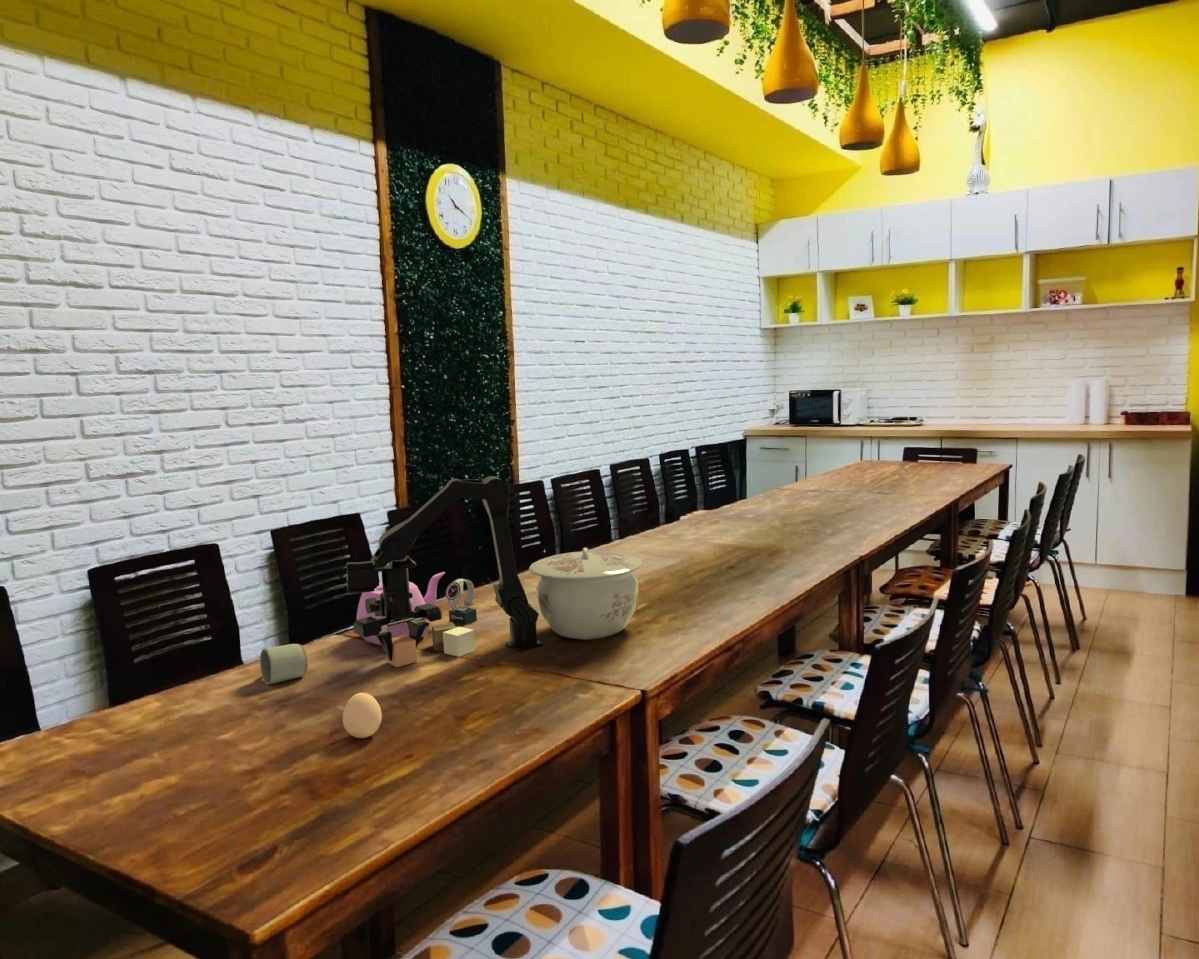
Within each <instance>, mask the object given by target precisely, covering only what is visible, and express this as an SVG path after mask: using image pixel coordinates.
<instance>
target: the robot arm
mask: <svg viewBox="0 0 1199 959" xmlns="http://www.w3.org/2000/svg"><path fill="white" fill-rule="evenodd" d="M462 498H463V499H474V500H482V503H483V506H484V508H485V510H486V512H487V515H488V517H489V522H490V528H491V533H492V539H493V545H494V552H495V557H496V561H497V562H496V564H497V568H498V574H499V579H498V584H497V583H496V584H492V587H493V590H494V593H495V599H494V601H495V603H497V605H498V606H499V607H500V608H501V609H502V610H503V611H504V613H505V614H507V615H508V616H509V635H510V636H509V637H510V641H506V642H505V646H506V647H507V646H508V647H510V648H512V649H516V650H517V651H525V650H528V649H531V648H532V649H533V648H535V647H539V646H542V645H543V644H544V643H543V641H541V640H538V635H537V634H538V633H537V630H538V629H537V622H538V619H539V613H538V611H537V610H536V609H535V608H534V607H533V606H532V605H531V604H530V603H529V601H528V597H527V595H526V592H525V589H524V587H523V585H522V582H521V580H520V578H519V576H518V575H519V574H518V568H517V563H516V557H515V551H514V547H513V540H512V539H513V538H512V534H511V529H510V523H509V509H510V487H509V485H508V483H507V482H506V481H504V480H503V479H502V478H499V477H497V476H493V475H489V476H485V478H483V479H458V478H452V479H450V480H448V482H447V483H446V484H445V485H444V487H442V488H441V489H440V490H438V492H436V493H435V494H434V496H432V497H431V498H429V500H428V501H427V502H425V504H424V505H422V506H421V507H420V508H419V509H418V510H417V511H416V512H415V513H413V514H412V515H410V517H409V518H407V519H406V520H403V521H402V522H400V523H398V524H396V525H394V526H393V527H392V528H389V529H388V530H387V531H385V532H384V533H382V534H381V535H380V537H379V539H378V548H377V549H376V550H375V552H374V554H373V555H372V557H371V558H370V560H368V561H359V562H354V561H350V562H346V575H345V576H346V586H347V588H346V589H347V594H348V595H355V594H362V593H365V592H373V591H375V589H376V588H377V586H379V583H380V577H379V572H381V583H382V587H383V593H381V595H380V600H377V601H376V599H375V597H374V598H369V599H366V600H365V607H366V612H367V613H373V612H374V613H375V616H382V617H383V616H385V618H383V619H379V620H377V619H375V618H373V617H366V618H362V619H357V618H356V619H355V620H354V622H353V634H354V633H355V634H357V635H358V636H361V637H362V638H363V637H370V636H376V637H377V638H378V640H379V641H380V643H381V645H382V649H383V651H384V654H385V657H386V656H387V658H388V660H390V661H391V660H392V655H393V653H392V633H391V632H388V628H387V626H391V625H396V624H400V623H404V622H407V625H408V628H409V637H410V638H413V639H415V640H416V649H417V648H418V646H419V642H420V640H421V638H422V637H421V636H422V634H423V632H424V630H425V628H426V627H427V626H429V623H428V622H426V619H427V620H429V621H430V623H431V622H434V621H435V622H436V621H439V620H442V619H443V613H442V609H441V608H440V606H437V605H436V604H435V605H432V604H430V603H428V604H424V605H419V606H416V607H415V609H414V611H411V603H410V598H413V596H412V593H410V590H409V582H410V580H409V569H413V568H417V563H416V561H415V560H413V559H412V558H410V556H409V555H406V554H407V553H408V552H409V550H410V549H411V548H412V547H413V545H414V544H415V542H416V541H417V539H418V537H419V536H420V535H421V534H422V532H423V531H425V530H426V529H427V528H428V527H429V526H430V525H432V523H433V522H434V521H436V520H437V519H438V518H440V516H442V514H443V513H445V512H446V511H447V510H448V509H449V508H451V506H452V505H454V504H455V502H457V501H458V500H459V499H462ZM405 555H406V556H405ZM402 558H403V559H402ZM403 618H404V619H403ZM392 620H395V621H392ZM429 627H430V626H429ZM381 645H380V646H381Z"/></svg>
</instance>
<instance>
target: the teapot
mask: <svg viewBox="0 0 1199 959" xmlns="http://www.w3.org/2000/svg"><path fill="white" fill-rule="evenodd" d="M445 574H446V572H445V571H442V572H438V573H437V574H434V575H433V576H432V577H431V578H430V579H429V582H428V585H427V591H426V594H425V595H424V597H423V594H422V593H421V591H420V589H419V587H418V585H416V584H415V583H414V582H411V581H409V590H410V593H412V596H413V598H410V603H411V611H414V609H415V607H416V606H419V605H424V604H428V603H430V604H432V605H435V606H436V603H437V589H438V583H439V581H440V579H441V578H442V577H443V576H444V575H445ZM381 593H383V587H382V582H379V586H377V588H376V589H375V591H373V592H365V593H361V595H360V597H359V602H358V606H357V612H356V620H357V619H362V618H366V617H373V618H375V619H377V620H379V619H383V618H385V616H383V617H382V616H375V613H374V612H373V613H367V612H366V607H365V600H366V599H369V598H374V597H375V599H376V601H377V600H380V595H381ZM403 619H404V618H403ZM392 621H395V620H392ZM426 622H428V623H429V626H427V627H426V628H425V630H424V632H423V634H422V636H421V638H422V637H424V636H426V634H427V632H428V631H429V628H430V625H431V622H430V621H429V620H427V619H426ZM387 628H388V632H391V633H392V638H396V637H400V636H404V635H406V636H408V637H409V628H408V625H407V622H404V623H400V624H396V625H391V626H387ZM362 639H364V641H366V642H368V643H371V644H374V645H378V646H382V645H381V643H380V641H379V640H378V638H377V637H376V636H370V637H362Z"/></svg>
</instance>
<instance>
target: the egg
mask: <svg viewBox="0 0 1199 959" xmlns="http://www.w3.org/2000/svg"><path fill="white" fill-rule="evenodd" d="M382 716H383V714H382V709H381V706H380V704H379V703H378V701H377V700H376V698H374V696H373V695H371V694H369V693H366V692H359V693H356V694H354V695H353V696H351V697H350V698H349V699H348V701H347V702H346V704H345V707H344V708H343V713H342V724H343V727H344V729H345V730H346V732H347V733H348V734H349V735H351V736H352V737H354V738H358V739H365V738H368V737H371V736H372V735H373V734H375V732H376V731H378V729H379V727H380V725H381V722H382Z"/></svg>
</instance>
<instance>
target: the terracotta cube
mask: <svg viewBox="0 0 1199 959" xmlns="http://www.w3.org/2000/svg"><path fill="white" fill-rule="evenodd" d="M392 653H393V655H392V660H391V661H390V660H388V658H387V656H386V655H385V662H386V663H388V664H389V665H390V666H393V667H395V668H399V667H403V666H406V665H410V664H414V663H417V662H418V656H417V655H418V654H417V648H416V640H415V639H413V638H410V637H408V636H406V635H404V636H400V637H396V638H392Z"/></svg>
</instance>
